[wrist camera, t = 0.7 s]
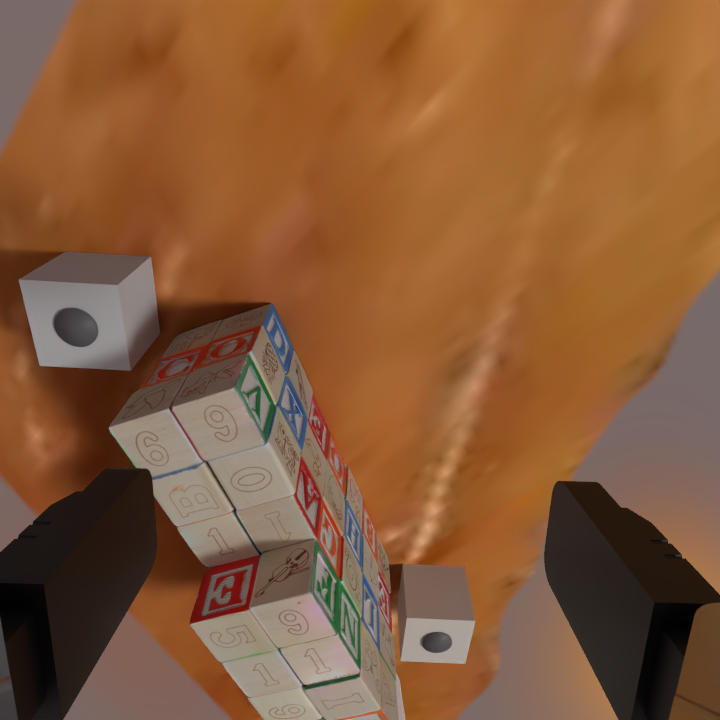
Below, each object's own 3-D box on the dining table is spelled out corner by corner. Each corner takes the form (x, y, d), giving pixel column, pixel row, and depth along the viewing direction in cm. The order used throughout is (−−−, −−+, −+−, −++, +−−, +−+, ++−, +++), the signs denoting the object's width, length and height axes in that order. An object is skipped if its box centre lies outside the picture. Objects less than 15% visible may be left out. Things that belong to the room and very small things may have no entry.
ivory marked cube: (402, 563, 40) (407, 619, 35) (464, 565, 40) (475, 623, 36) (397, 604, 42) (400, 662, 38) (455, 607, 42) (465, 665, 38)
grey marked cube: (66, 251, 29) (16, 280, 25) (151, 256, 29) (115, 286, 25) (81, 328, 31) (38, 367, 27) (160, 332, 31) (129, 372, 27)
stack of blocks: (173, 332, 31) (69, 472, 20) (273, 299, 30) (221, 427, 19) (311, 579, 41) (291, 765, 30) (391, 560, 40) (401, 745, 29)
